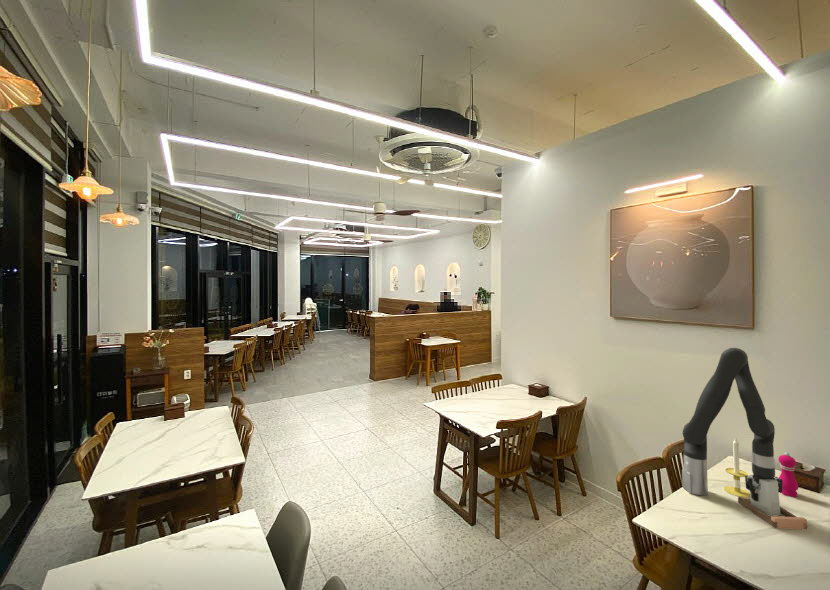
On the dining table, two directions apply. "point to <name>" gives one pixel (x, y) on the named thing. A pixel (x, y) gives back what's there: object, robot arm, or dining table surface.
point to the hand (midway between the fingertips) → (764, 500)
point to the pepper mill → (788, 475)
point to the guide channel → (747, 504)
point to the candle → (736, 474)
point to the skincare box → (767, 497)
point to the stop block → (790, 522)
